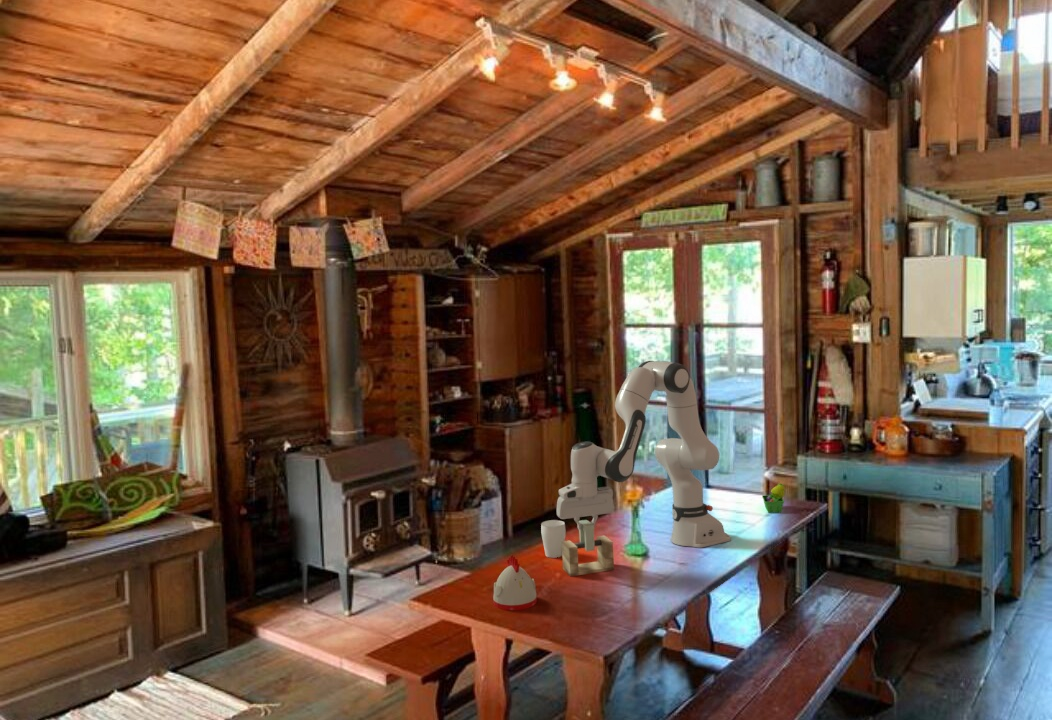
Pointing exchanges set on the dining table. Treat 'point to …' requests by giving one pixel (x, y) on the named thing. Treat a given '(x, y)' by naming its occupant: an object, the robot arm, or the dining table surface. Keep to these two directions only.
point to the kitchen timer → (514, 588)
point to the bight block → (587, 535)
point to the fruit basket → (775, 499)
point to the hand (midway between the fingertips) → (586, 528)
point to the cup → (553, 537)
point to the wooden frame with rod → (601, 565)
